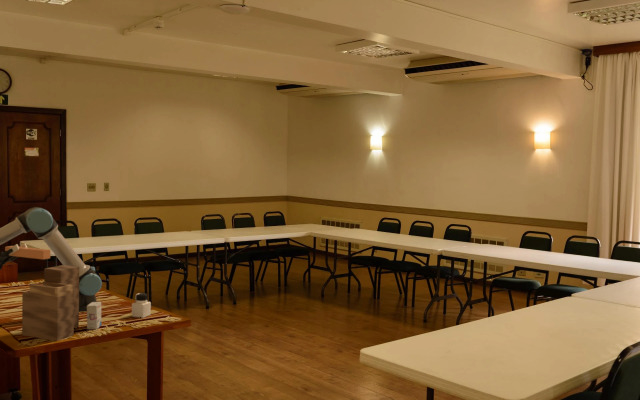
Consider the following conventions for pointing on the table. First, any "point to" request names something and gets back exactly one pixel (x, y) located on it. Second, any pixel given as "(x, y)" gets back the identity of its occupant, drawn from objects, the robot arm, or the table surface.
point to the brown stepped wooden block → (52, 305)
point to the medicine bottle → (141, 306)
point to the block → (30, 252)
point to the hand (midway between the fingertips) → (21, 246)
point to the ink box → (94, 315)
